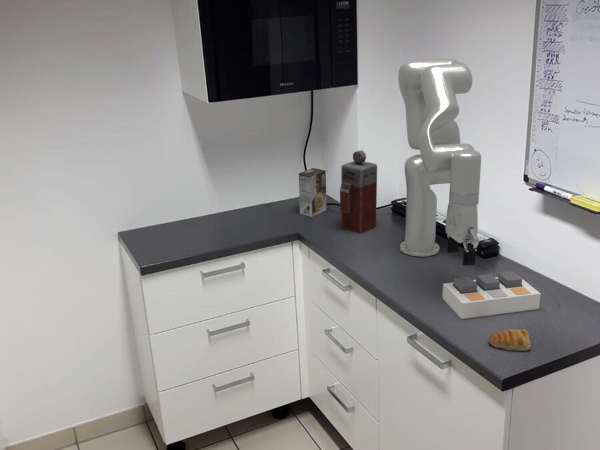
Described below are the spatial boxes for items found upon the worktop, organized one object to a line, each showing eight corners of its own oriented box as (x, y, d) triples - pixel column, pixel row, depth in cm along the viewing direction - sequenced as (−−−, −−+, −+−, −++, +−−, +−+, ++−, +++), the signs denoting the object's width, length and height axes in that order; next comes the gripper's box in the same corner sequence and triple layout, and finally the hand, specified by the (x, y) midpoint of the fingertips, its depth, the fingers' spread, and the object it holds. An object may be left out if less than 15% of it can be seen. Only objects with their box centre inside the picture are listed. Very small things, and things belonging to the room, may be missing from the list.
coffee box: (313, 207, 252) (313, 167, 246) (327, 210, 248) (326, 170, 243) (299, 213, 246) (297, 172, 240) (312, 217, 242) (311, 175, 236)
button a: (453, 290, 176) (454, 278, 175) (467, 288, 177) (468, 276, 176) (461, 298, 171) (462, 286, 170) (476, 296, 172) (477, 284, 171)
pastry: (491, 352, 152) (492, 338, 151) (485, 337, 159) (486, 323, 157) (532, 352, 152) (533, 338, 150) (523, 337, 158) (525, 324, 157)
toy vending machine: (336, 229, 229) (336, 152, 219) (357, 221, 236) (357, 146, 227) (356, 235, 223) (357, 156, 213) (376, 227, 231) (377, 150, 221)
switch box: (442, 298, 178) (443, 283, 176) (515, 289, 182) (517, 274, 180) (461, 319, 167) (462, 302, 165) (538, 308, 171) (540, 292, 169)
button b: (475, 287, 177) (476, 275, 176) (489, 285, 178) (490, 273, 177) (484, 295, 173) (485, 283, 171) (498, 293, 173) (500, 281, 172)
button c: (497, 284, 178) (498, 272, 177) (511, 283, 179) (512, 271, 178) (506, 292, 174) (507, 280, 172) (521, 291, 175) (522, 279, 173)
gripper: (437, 190, 176) (434, 248, 182) (465, 208, 160) (461, 271, 166) (462, 187, 178) (459, 246, 183) (493, 205, 162) (488, 268, 167)
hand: (460, 258), depth 174 cm, fingers open, 9 cm apart
